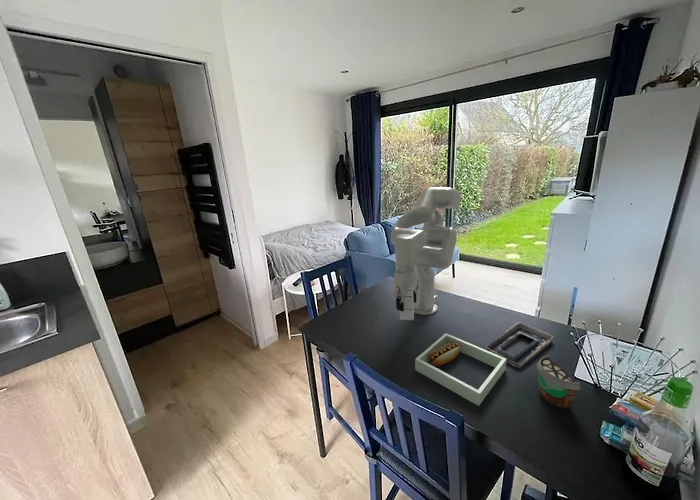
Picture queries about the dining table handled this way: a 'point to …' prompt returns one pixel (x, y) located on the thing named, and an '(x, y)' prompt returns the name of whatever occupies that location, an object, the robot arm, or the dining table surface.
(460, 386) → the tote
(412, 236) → the robot arm
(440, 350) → the hot dog
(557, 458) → the dining table surface
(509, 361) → the picture frame
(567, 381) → the food container
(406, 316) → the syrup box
